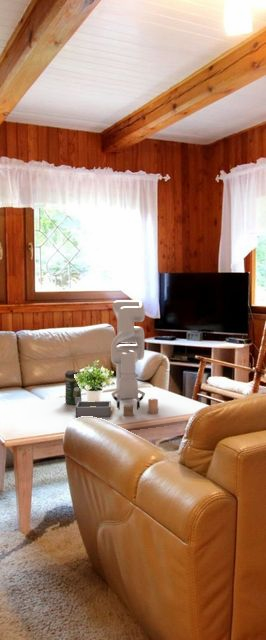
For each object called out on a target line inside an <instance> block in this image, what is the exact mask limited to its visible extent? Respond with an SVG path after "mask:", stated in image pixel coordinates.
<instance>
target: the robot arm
mask: <svg viewBox="0 0 266 640" xmlns="http://www.w3.org/2000/svg"><path fill="white" fill-rule="evenodd" d="M112 310H113V313H114V315H115V317H116V320H117V321H116V323H117V325H116V328H117V329H116V331H117V332H116V335H115V337H113V340H112V342H111V345H110V359H111V363H112V364H113V365H116V372H115V373H116V374H115V375H116V376H115V377H116V387H115V388H116V390H115V391H113V392H112V393H111V396H112V398H113V400H114V401H115V402H116V408H117V409H118V411H119V410H121V405H120V404H121V403H120V401H121V400H122V399H123V400H128V399H135V400H136V410H137V411H138V410H139V409H140V407H141V406H140V405H141V401H142V400H143V399H144V397H145V395H146V392H144V391H142V390H141V389H139V383H138V382H139V381H138V379H137V377H139V374H138V373H136V372H137V371H136V364H137V362H138V361H142V360H143V359H144V357H145V331H144V328H143V327H142V326H135V322H137V323H138V322H139V323H140V322H144V320H145V317H146V310H145V307H144V303H143V301H142V300H133V299H131V300H129V299H124V300H120V299H119V300H115V301H114V302H113V303H112ZM120 343H121V344H120ZM123 343H124V344H123ZM131 343H132V344H131ZM139 394H140V395H141V396H140V397H139Z"/></svg>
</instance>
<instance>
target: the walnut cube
mask: <svg viewBox="0 0 266 640" xmlns="http://www.w3.org/2000/svg"><path fill="white" fill-rule="evenodd" d="M123 417H134V404H130V403H129V404H123Z"/></svg>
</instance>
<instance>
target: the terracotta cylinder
mask: <svg viewBox="0 0 266 640" xmlns="http://www.w3.org/2000/svg"><path fill="white" fill-rule="evenodd" d="M147 404H148V407H147V410H148V412H147V413H148V414H150V415H157V414H158V412H159V411H158V410H159V399H158V398H149V399H148V400H147Z"/></svg>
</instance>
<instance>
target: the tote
mask: <svg viewBox="0 0 266 640" xmlns="http://www.w3.org/2000/svg"><path fill="white" fill-rule="evenodd" d="M88 401H89V400H88ZM88 401H87V400H86V401H85V400H84V401H83V400H81V401H78V403H77V405H75V417H76V418H81V417H80V416H95V417H94V418H110V417H111V415H112V401H110V400H103V401H102V400H100V401H99V400H97V401H95V400H94V401H95V402H88ZM90 406H96V407H90Z"/></svg>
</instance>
